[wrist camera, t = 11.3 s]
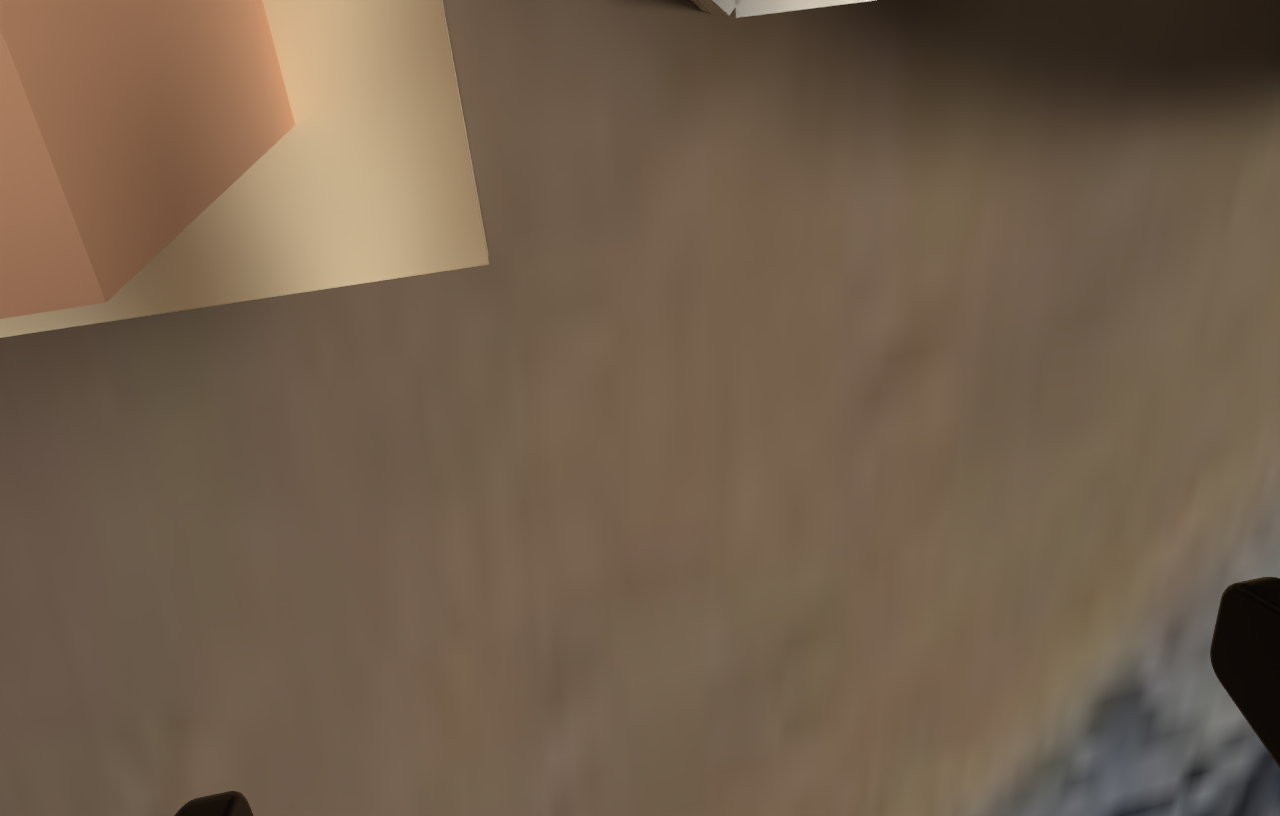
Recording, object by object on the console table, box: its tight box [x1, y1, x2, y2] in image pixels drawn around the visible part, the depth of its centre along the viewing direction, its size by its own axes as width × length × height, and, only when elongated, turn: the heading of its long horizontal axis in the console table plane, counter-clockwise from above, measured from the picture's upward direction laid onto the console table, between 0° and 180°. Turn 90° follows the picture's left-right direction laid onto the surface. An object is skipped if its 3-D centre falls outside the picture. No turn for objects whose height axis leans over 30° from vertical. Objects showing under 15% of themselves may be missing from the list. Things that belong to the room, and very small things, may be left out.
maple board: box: [0, 0, 489, 338], centre depth 16 cm, size 10×10×1 cm
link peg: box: [0, 0, 295, 319], centre depth 11 cm, size 4×4×10 cm
